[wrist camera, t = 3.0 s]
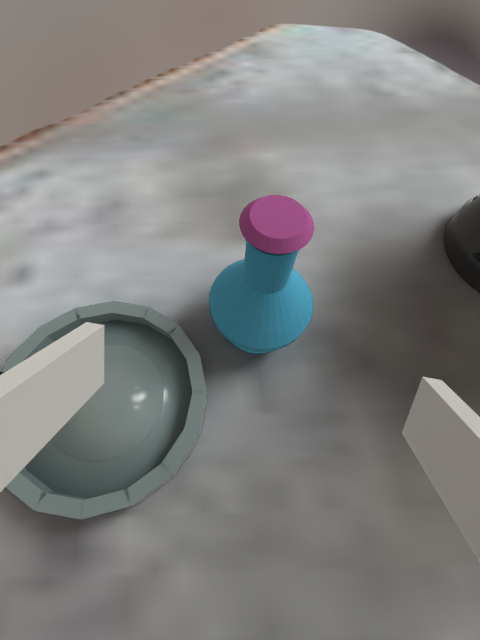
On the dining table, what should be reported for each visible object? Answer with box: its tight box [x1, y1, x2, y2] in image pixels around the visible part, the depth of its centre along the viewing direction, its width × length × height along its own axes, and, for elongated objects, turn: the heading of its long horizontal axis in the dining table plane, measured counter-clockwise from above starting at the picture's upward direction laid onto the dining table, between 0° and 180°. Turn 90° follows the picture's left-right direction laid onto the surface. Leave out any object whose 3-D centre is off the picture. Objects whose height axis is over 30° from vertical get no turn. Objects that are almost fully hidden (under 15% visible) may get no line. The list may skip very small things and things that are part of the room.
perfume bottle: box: [209, 195, 314, 353], centre depth 26 cm, size 9×9×15 cm
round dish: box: [2, 301, 208, 520], centre depth 28 cm, size 17×17×2 cm
